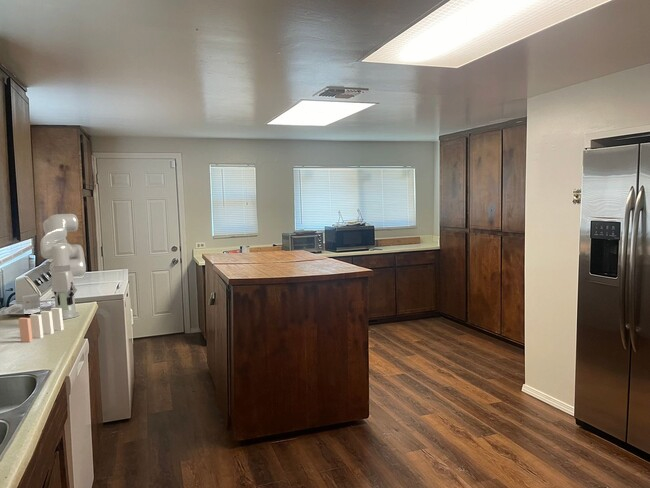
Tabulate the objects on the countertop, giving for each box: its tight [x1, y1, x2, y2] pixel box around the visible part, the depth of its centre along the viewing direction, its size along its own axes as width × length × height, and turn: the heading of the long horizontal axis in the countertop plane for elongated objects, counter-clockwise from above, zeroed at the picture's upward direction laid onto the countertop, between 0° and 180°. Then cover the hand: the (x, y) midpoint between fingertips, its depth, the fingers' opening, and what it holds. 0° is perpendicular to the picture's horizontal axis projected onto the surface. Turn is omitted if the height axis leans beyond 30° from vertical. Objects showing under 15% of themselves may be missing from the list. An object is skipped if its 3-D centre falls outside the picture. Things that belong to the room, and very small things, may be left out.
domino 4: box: [50, 307, 65, 332], centre depth 240 cm, size 2×5×11 cm, turn 76°
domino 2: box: [29, 313, 44, 339], centre depth 228 cm, size 2×5×11 cm, turn 76°
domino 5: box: [59, 292, 71, 310], centre depth 245 cm, size 2×5×11 cm, turn 76°
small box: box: [20, 293, 41, 310], centre depth 278 cm, size 8×6×10 cm
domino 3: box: [39, 310, 55, 335], centre depth 234 cm, size 2×5×11 cm, turn 76°
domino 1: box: [18, 317, 34, 343], centre depth 222 cm, size 2×5×11 cm, turn 75°
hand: (65, 304), depth 245 cm, fingers closed on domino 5, 4 cm apart
